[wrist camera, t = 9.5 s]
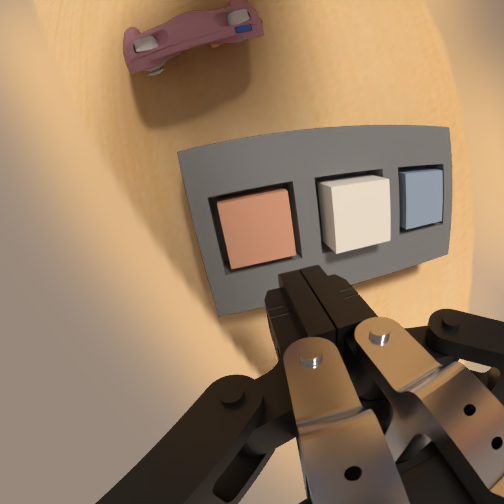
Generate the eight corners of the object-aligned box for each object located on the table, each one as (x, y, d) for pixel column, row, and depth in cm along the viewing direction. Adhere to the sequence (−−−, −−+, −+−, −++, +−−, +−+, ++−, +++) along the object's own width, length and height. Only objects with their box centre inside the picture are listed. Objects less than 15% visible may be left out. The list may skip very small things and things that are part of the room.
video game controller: (139, 75, 17) (125, 92, 13) (123, 31, 14) (102, 31, 9) (252, 40, 18) (281, 45, 13) (241, -5, 14) (267, -17, 9)
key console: (184, 151, 19) (177, 151, 15) (421, 126, 20) (449, 127, 17) (217, 290, 24) (218, 316, 20) (423, 240, 25) (447, 254, 21)
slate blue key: (387, 169, 20) (405, 173, 17) (424, 166, 20) (442, 170, 18) (389, 220, 21) (406, 229, 19) (424, 213, 22) (441, 220, 19)
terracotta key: (216, 197, 19) (217, 204, 17) (278, 185, 19) (287, 190, 17) (229, 255, 21) (231, 269, 18) (287, 243, 21) (296, 255, 19)
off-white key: (316, 182, 18) (331, 187, 16) (370, 174, 18) (389, 179, 16) (322, 241, 20) (336, 253, 18) (373, 230, 20) (390, 240, 18)
